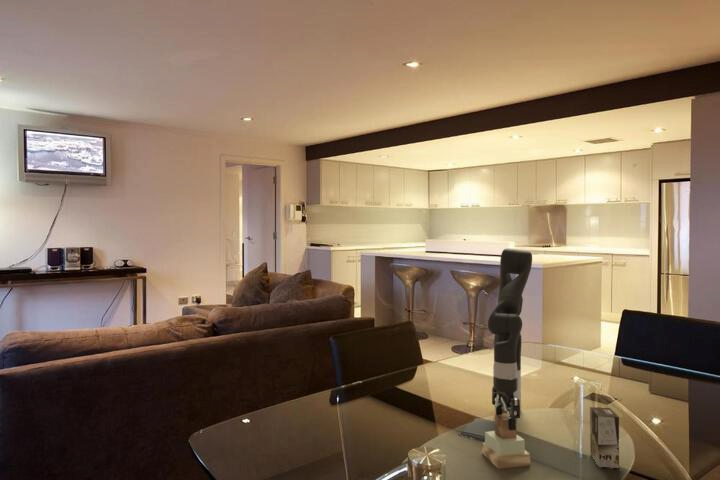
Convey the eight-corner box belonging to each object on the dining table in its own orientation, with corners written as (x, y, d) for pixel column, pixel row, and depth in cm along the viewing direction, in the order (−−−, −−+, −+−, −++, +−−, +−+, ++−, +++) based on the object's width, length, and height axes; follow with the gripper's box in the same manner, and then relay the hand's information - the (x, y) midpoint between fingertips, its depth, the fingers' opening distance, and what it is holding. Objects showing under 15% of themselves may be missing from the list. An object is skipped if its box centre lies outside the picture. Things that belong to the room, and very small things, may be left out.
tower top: (484, 444, 158) (484, 431, 158) (509, 441, 160) (509, 429, 160) (499, 455, 149) (499, 443, 149) (524, 452, 151) (524, 439, 151)
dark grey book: (475, 415, 190) (513, 423, 181) (475, 419, 190) (513, 428, 181) (454, 431, 174) (495, 441, 165) (454, 436, 174) (495, 446, 165)
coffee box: (620, 469, 147) (619, 417, 147) (597, 467, 148) (597, 415, 148) (610, 456, 156) (610, 407, 156) (589, 454, 157) (589, 406, 157)
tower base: (482, 454, 159) (482, 442, 159) (512, 451, 161) (512, 439, 161) (497, 470, 148) (497, 457, 148) (530, 466, 150) (530, 454, 150)
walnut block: (494, 433, 157) (494, 415, 157) (508, 431, 158) (508, 413, 158) (502, 439, 152) (502, 420, 152) (516, 437, 153) (516, 419, 153)
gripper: (484, 369, 161) (484, 417, 161) (505, 381, 147) (505, 434, 147) (505, 368, 162) (505, 416, 162) (527, 380, 148) (527, 432, 148)
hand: (505, 424), depth 154 cm, fingers open, 8 cm apart
